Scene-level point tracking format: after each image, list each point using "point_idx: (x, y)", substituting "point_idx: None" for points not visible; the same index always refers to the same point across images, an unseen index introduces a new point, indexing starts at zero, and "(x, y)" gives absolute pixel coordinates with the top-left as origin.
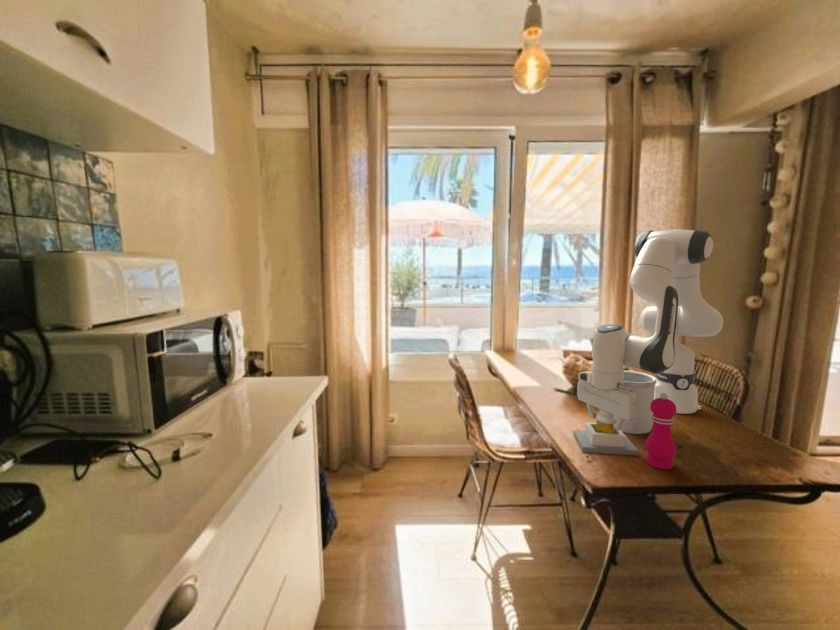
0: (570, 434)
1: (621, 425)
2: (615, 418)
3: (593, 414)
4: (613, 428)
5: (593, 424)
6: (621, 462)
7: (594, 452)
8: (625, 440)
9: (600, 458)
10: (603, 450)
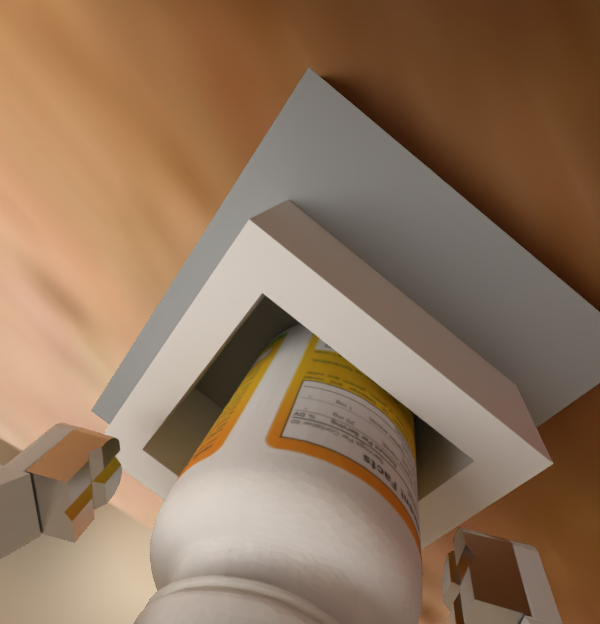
0: None
1: (551, 614)
2: (385, 571)
3: (79, 522)
4: (442, 578)
5: (158, 428)
6: (573, 512)
7: None
8: (435, 237)
9: (445, 550)
10: None
